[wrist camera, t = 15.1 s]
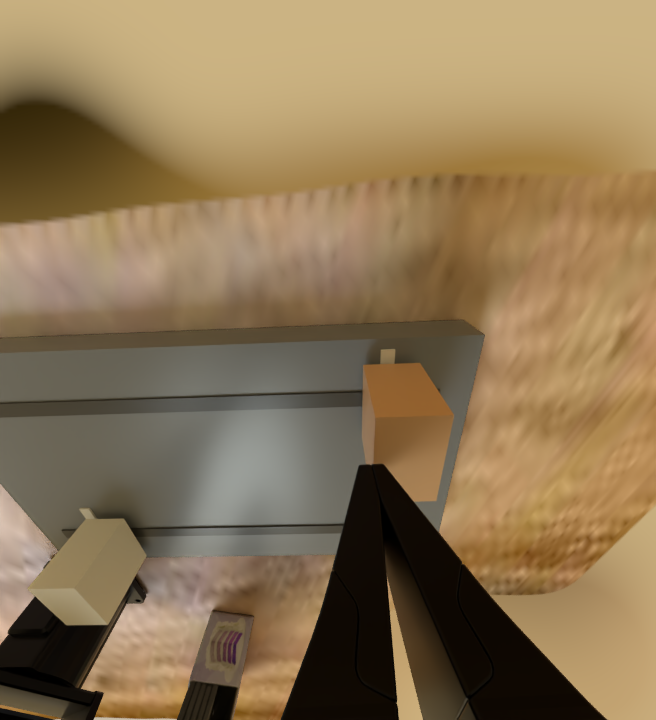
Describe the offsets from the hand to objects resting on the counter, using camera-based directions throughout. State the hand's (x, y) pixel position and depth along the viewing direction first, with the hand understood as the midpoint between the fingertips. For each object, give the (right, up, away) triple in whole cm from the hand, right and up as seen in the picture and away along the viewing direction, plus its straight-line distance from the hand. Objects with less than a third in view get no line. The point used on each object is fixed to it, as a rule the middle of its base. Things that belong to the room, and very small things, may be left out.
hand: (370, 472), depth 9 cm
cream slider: (-15, -8, +8) cm, 19 cm away
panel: (-7, -2, +8) cm, 11 cm away
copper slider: (+1, +2, +3) cm, 4 cm away
